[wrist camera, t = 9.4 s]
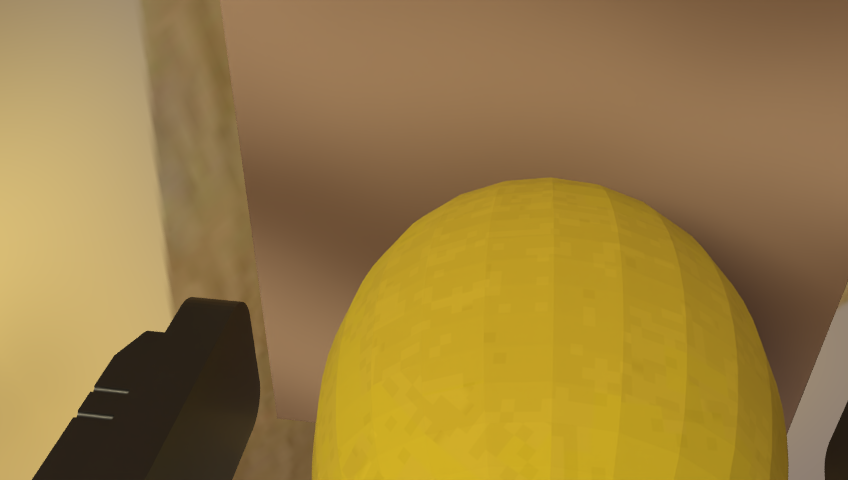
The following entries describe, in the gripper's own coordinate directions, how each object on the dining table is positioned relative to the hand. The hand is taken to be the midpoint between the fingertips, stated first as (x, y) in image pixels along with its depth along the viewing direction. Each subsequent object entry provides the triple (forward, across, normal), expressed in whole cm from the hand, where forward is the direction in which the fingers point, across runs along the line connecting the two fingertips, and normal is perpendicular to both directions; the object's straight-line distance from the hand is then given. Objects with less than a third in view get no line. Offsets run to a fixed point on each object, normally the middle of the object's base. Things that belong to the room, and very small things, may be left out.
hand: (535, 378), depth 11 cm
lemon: (+3, 0, 0) cm, 3 cm away
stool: (+11, 0, 0) cm, 11 cm away
